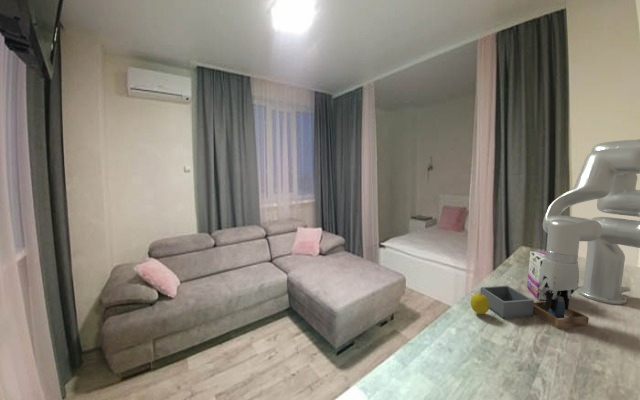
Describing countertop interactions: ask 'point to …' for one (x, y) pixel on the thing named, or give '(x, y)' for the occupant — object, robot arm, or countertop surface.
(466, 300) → the countertop surface
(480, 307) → the lemon
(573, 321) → the brown wooden square frame
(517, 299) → the bin
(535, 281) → the candy bar box
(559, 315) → the vaping device
